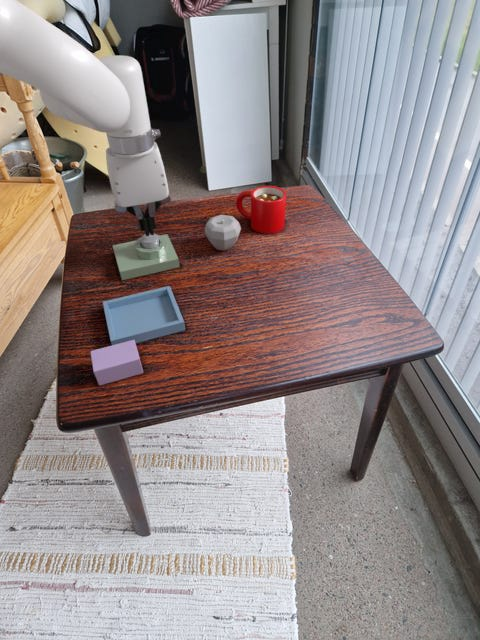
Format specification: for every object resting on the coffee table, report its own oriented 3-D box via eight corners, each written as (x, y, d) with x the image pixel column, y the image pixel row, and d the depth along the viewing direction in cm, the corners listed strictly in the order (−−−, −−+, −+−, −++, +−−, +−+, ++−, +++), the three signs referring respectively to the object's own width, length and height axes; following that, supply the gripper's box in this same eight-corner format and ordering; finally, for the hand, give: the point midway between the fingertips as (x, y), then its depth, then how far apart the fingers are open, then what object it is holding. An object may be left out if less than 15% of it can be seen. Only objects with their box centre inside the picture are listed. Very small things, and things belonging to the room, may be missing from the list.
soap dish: (113, 349, 71) (110, 341, 70) (105, 310, 78) (102, 301, 77) (185, 330, 74) (184, 321, 73) (171, 293, 81) (169, 285, 80)
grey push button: (143, 251, 86) (142, 244, 84) (140, 242, 88) (138, 234, 87) (161, 247, 86) (159, 240, 85) (157, 238, 89) (156, 231, 88)
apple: (204, 237, 95) (202, 211, 91) (239, 234, 96) (238, 208, 91) (206, 258, 90) (204, 231, 85) (243, 255, 90) (243, 228, 86)
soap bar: (99, 385, 66) (93, 371, 63) (95, 365, 69) (90, 350, 66) (143, 373, 67) (139, 359, 65) (138, 353, 70) (134, 339, 68)
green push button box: (121, 280, 85) (117, 264, 82) (114, 253, 91) (110, 238, 89) (179, 267, 87) (177, 251, 85) (168, 242, 94) (166, 226, 91)
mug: (242, 210, 104) (241, 180, 98) (288, 219, 100) (290, 188, 95) (229, 226, 99) (228, 195, 93) (277, 236, 95) (279, 204, 90)
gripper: (168, 127, 77) (179, 216, 90) (84, 139, 73) (109, 230, 86) (178, 141, 72) (189, 234, 85) (88, 156, 68) (114, 250, 81)
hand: (148, 232), depth 85 cm, fingers closed
